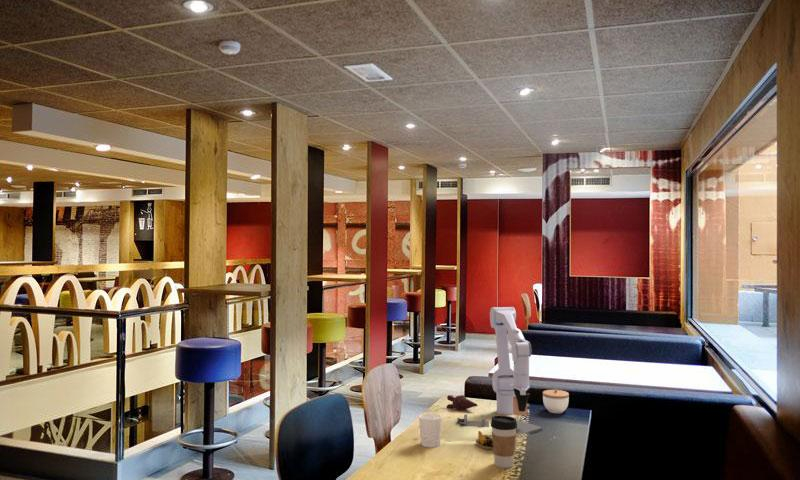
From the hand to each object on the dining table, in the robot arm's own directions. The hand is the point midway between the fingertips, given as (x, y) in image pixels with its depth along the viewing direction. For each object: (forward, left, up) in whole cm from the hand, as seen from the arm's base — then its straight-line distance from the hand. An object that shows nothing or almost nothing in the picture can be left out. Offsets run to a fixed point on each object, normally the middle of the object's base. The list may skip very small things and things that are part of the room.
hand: (521, 409), depth 229 cm
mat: (0, 0, -8) cm, 8 cm away
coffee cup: (+32, +20, -8) cm, 38 cm away
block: (0, 0, -2) cm, 2 cm away
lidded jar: (-30, -7, -8) cm, 32 cm away
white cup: (+38, -9, -8) cm, 40 cm away
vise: (+11, -14, -8) cm, 19 cm away
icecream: (+1, -32, -8) cm, 33 cm away
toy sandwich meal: (+20, +6, -8) cm, 23 cm away
